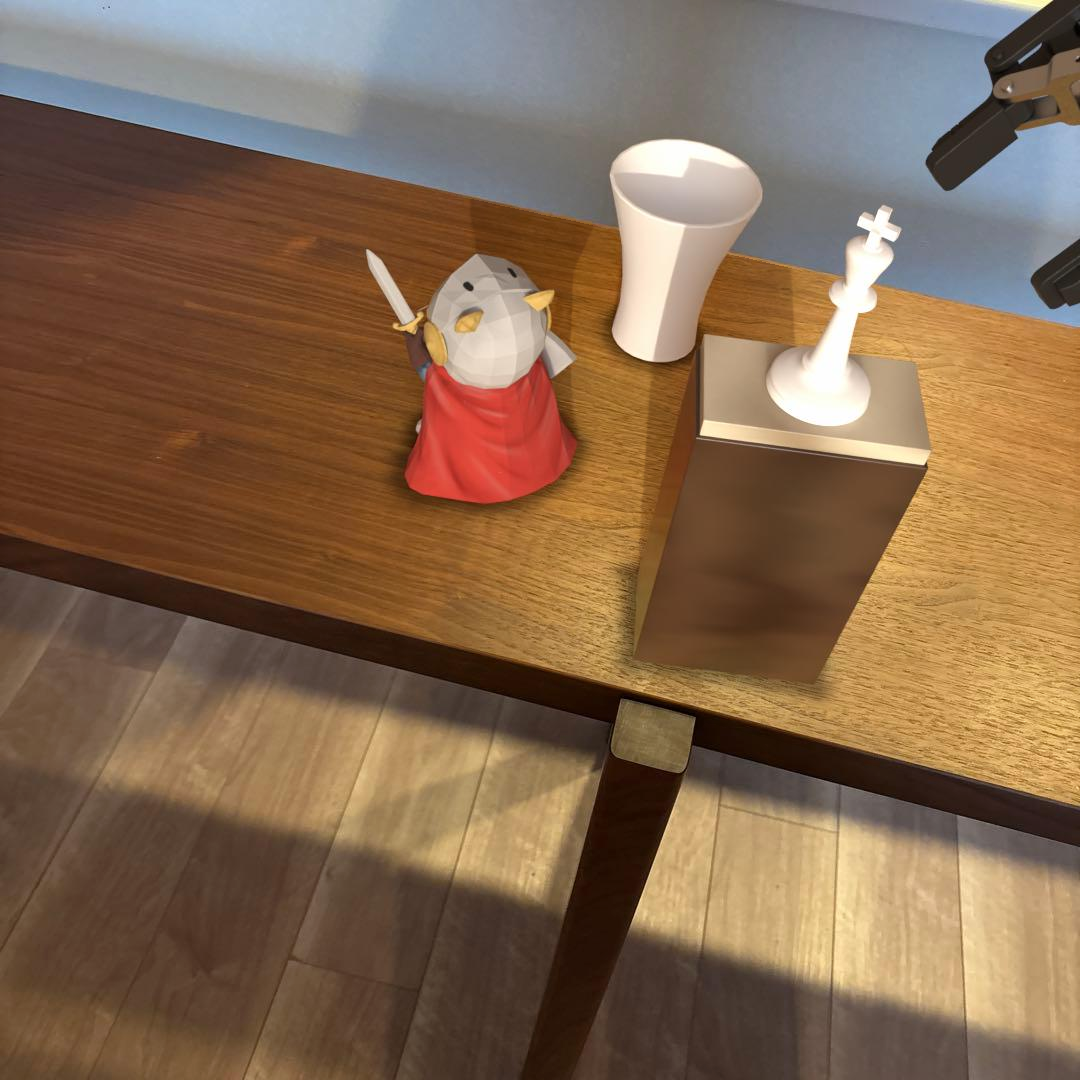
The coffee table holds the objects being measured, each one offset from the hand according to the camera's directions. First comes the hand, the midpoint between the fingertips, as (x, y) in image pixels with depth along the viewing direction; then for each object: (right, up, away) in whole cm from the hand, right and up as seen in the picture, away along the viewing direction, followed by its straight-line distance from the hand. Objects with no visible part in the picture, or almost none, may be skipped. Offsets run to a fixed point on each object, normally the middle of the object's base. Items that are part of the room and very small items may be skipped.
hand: (984, 233), depth 48 cm
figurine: (-23, -7, +29) cm, 38 cm away
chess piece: (-6, -6, +5) cm, 10 cm away
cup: (-11, +2, +38) cm, 39 cm away
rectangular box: (-8, -19, +20) cm, 29 cm away
